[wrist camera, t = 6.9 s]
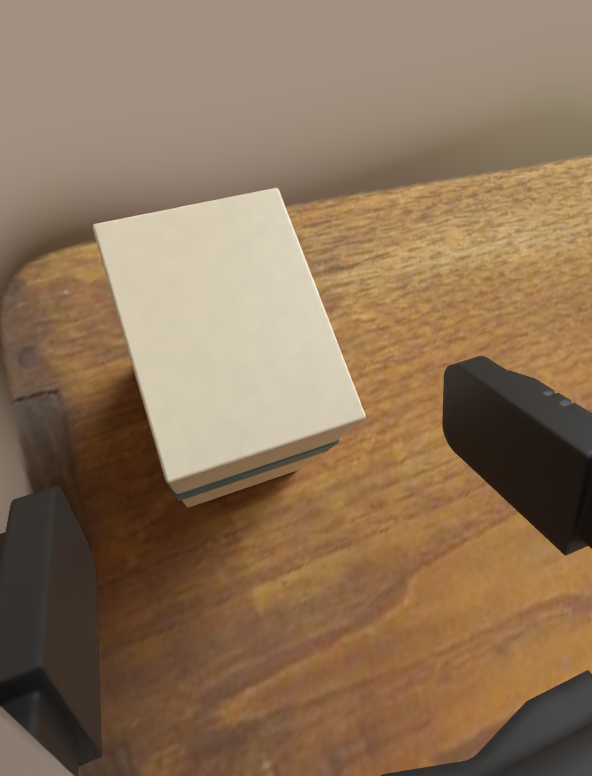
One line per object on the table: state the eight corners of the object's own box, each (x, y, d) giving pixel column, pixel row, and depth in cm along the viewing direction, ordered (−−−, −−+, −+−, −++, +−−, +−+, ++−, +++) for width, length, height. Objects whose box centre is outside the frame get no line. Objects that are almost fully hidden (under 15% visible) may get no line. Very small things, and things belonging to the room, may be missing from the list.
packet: (251, 327, 21) (279, 183, 12) (301, 470, 20) (370, 419, 11) (141, 357, 20) (88, 221, 11) (186, 510, 19) (164, 487, 10)
